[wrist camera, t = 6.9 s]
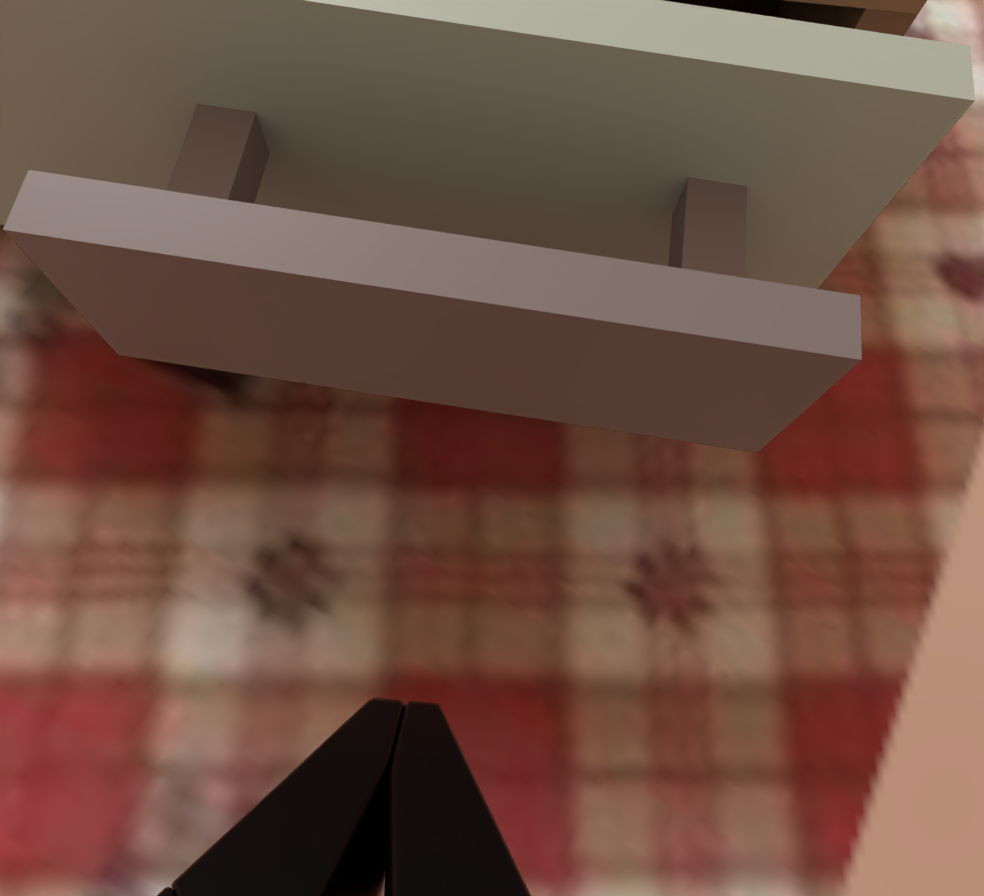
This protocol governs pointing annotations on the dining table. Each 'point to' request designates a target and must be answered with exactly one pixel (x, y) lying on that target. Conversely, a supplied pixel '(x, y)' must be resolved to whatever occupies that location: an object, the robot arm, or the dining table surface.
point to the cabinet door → (470, 194)
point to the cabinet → (830, 12)
